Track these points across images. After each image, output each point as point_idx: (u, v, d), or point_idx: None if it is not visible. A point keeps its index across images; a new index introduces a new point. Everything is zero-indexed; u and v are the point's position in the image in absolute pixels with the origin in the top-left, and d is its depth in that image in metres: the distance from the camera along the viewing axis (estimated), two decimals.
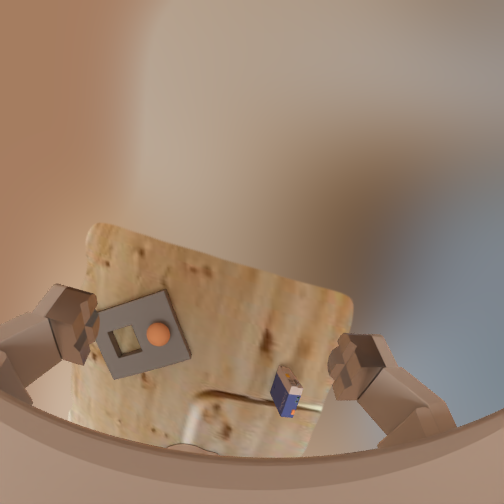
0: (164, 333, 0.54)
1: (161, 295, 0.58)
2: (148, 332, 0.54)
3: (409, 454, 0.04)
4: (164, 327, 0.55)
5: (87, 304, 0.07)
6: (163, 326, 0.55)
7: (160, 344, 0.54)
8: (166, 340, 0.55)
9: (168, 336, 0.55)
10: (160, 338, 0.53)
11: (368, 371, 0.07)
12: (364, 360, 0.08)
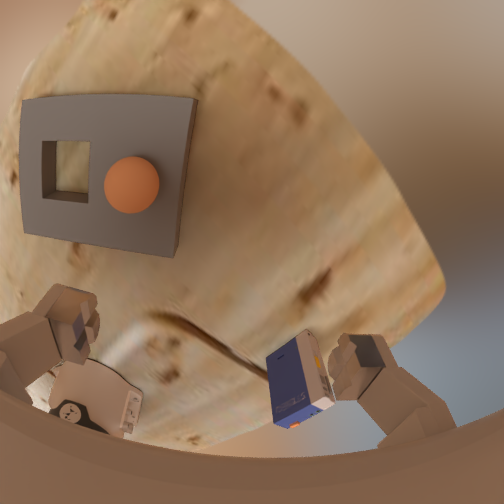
0: (143, 191, 0.21)
1: (183, 106, 0.22)
2: (111, 172, 0.21)
3: (409, 454, 0.04)
4: (152, 176, 0.22)
5: (87, 304, 0.07)
6: (150, 172, 0.22)
7: (124, 210, 0.22)
8: (142, 207, 0.23)
9: (150, 199, 0.23)
10: (131, 197, 0.21)
11: (368, 371, 0.07)
12: (364, 360, 0.08)
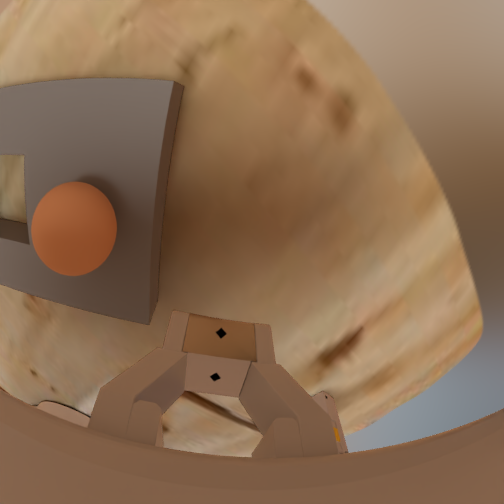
0: (85, 246, 0.12)
1: (156, 95, 0.13)
2: (37, 212, 0.11)
3: (409, 454, 0.04)
4: (100, 218, 0.12)
5: (220, 331, 0.08)
6: (96, 212, 0.12)
7: (63, 273, 0.12)
8: (88, 269, 0.13)
9: (101, 257, 0.13)
10: (67, 258, 0.11)
11: (234, 363, 0.07)
12: (229, 350, 0.07)
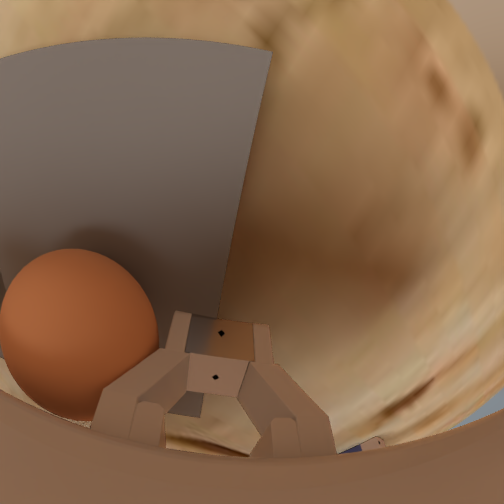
0: None
1: (236, 75, 0.06)
2: (2, 323, 0.05)
3: (409, 454, 0.04)
4: (130, 344, 0.06)
5: (222, 331, 0.08)
6: (120, 335, 0.06)
7: None
8: None
9: None
10: (77, 416, 0.05)
11: (232, 363, 0.07)
12: (227, 350, 0.07)
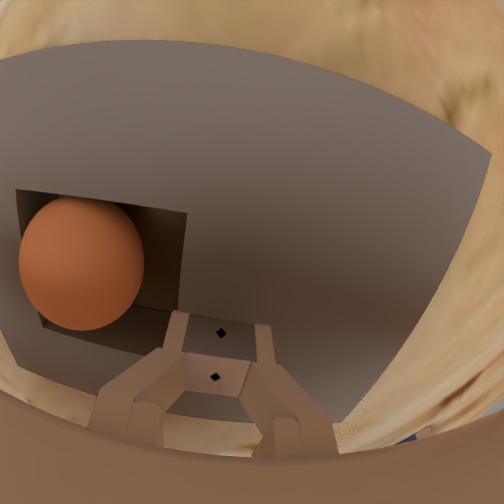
0: None
1: (475, 167, 0.07)
2: (118, 253, 0.08)
3: (409, 454, 0.04)
4: None
5: (220, 331, 0.08)
6: None
7: None
8: None
9: None
10: None
11: (233, 364, 0.07)
12: (229, 350, 0.07)
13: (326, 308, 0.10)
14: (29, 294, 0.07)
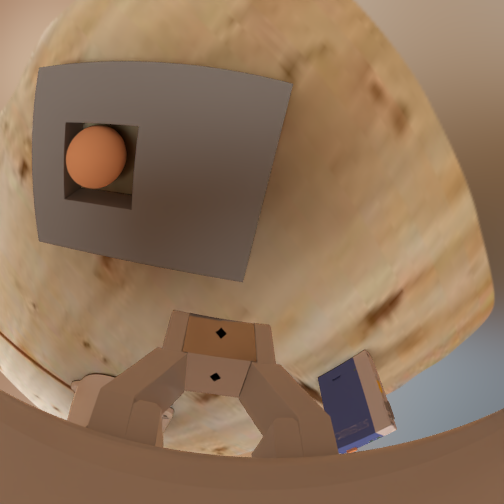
0: None
1: (279, 92, 0.17)
2: (117, 144, 0.18)
3: (409, 454, 0.04)
4: None
5: (220, 331, 0.08)
6: None
7: None
8: None
9: None
10: None
11: (234, 364, 0.07)
12: (229, 350, 0.07)
13: (202, 171, 0.19)
14: (73, 165, 0.17)
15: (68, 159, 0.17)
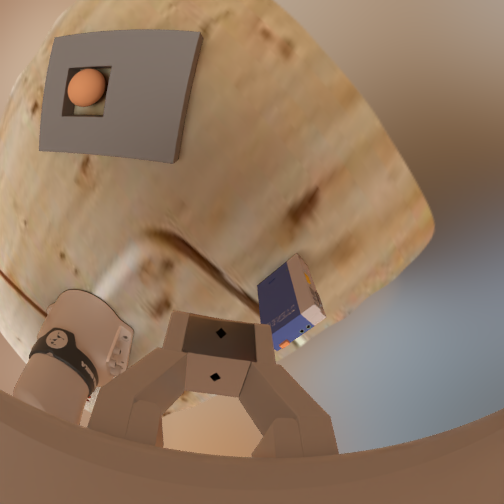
0: None
1: (191, 38, 0.24)
2: (100, 77, 0.25)
3: (409, 454, 0.04)
4: None
5: (220, 331, 0.08)
6: None
7: None
8: None
9: None
10: None
11: (234, 364, 0.07)
12: (229, 350, 0.07)
13: (146, 87, 0.27)
14: (73, 88, 0.24)
15: (70, 86, 0.24)
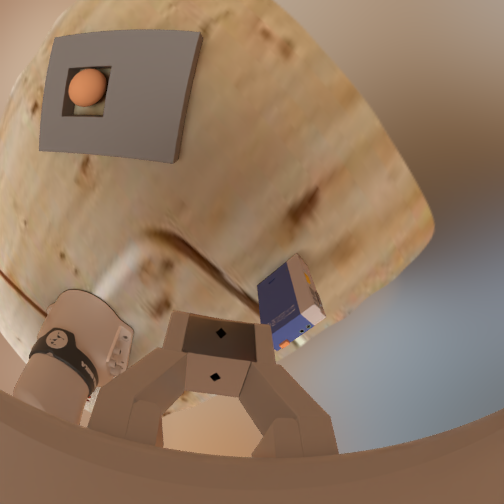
0: None
1: (191, 38, 0.24)
2: (102, 77, 0.26)
3: (409, 454, 0.04)
4: None
5: (220, 331, 0.08)
6: None
7: None
8: None
9: None
10: None
11: (234, 364, 0.07)
12: (229, 350, 0.07)
13: (146, 87, 0.27)
14: (75, 88, 0.24)
15: (71, 86, 0.24)
